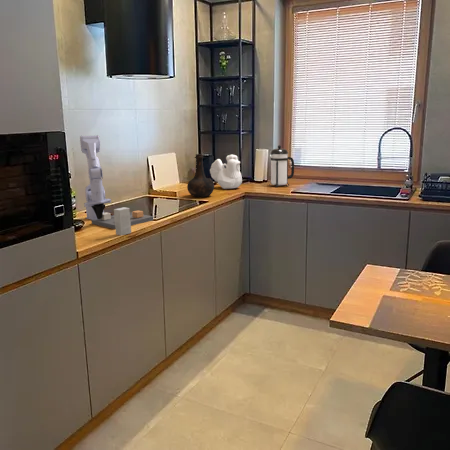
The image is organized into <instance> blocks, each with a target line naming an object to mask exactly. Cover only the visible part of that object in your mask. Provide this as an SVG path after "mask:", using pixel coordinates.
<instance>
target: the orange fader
mask: <svg viewBox="0 0 450 450" xmlns="http://www.w3.org/2000/svg"><path fill="white" fill-rule="evenodd" d="M131 212H132V217H135V218H139V217H143V215H144V211H143V210H134V211H131Z"/></svg>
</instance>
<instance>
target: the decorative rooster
mask: <svg viewBox="0 0 450 450" xmlns="http://www.w3.org/2000/svg"><path fill="white" fill-rule="evenodd" d="M238 158H239V157H238V156H237V155H236V154H229V155H227V156H226V157H225V159H226V163H223V162H222V160H221V159H220V158H217V159H216V160H214V162H213V163H211V166H210V169H209V174H210V176H211V178H212V179H213V180H214V181H215V182H217V183H218V185H219V186H220V187H221V188H222V189H224V190H227V189H229V190H230V189H237V188H239V187H240V186H241V185H242V183H243V178H242V172H241V171H240V170H241V167H240V166H241V165H240V164H241V161H240V160H239V159H238Z"/></svg>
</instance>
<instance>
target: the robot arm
mask: <svg viewBox="0 0 450 450" xmlns="http://www.w3.org/2000/svg"><path fill="white" fill-rule="evenodd" d="M79 144H80V149H81V153H82V154H85V156H86V160H87V169H88V173H87V174H88V179H89V184H88V185H87V186H86V187H85V189H84V190H85V200H86V202H84V203H83V205H84V207H85V210H86V217H85V219H87V220H90V221H91V220H94V219H102V214H103V213H105V208H106V204H111V203H112V199H111V198H106V191H105V187H104V185H103V178H104V177H103V176H104V175H103V174H104V173H103V169H102V166H101V162H100V159H99V157H98V156H97V154H98V153H99V152H100V149H101V139H100V136H99V135H98V134H97V135H96V134H95V135H79Z"/></svg>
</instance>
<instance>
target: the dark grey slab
mask: <svg viewBox="0 0 450 450" xmlns="http://www.w3.org/2000/svg"><path fill="white" fill-rule="evenodd" d="M132 212H133V211H130V222H131V227H132V226H135V225H139V224H143V223H147V222H152V221H154V216H153V215H147V214H143V217H139V218H135V217H132ZM90 221H91V224H92V225H95V226H99V227H100V226H101V227H103V228H108V229H113V230H116V229H115V218H114V214H113V215H111V219H107V220H102V219H94V220H91V219H90Z"/></svg>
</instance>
